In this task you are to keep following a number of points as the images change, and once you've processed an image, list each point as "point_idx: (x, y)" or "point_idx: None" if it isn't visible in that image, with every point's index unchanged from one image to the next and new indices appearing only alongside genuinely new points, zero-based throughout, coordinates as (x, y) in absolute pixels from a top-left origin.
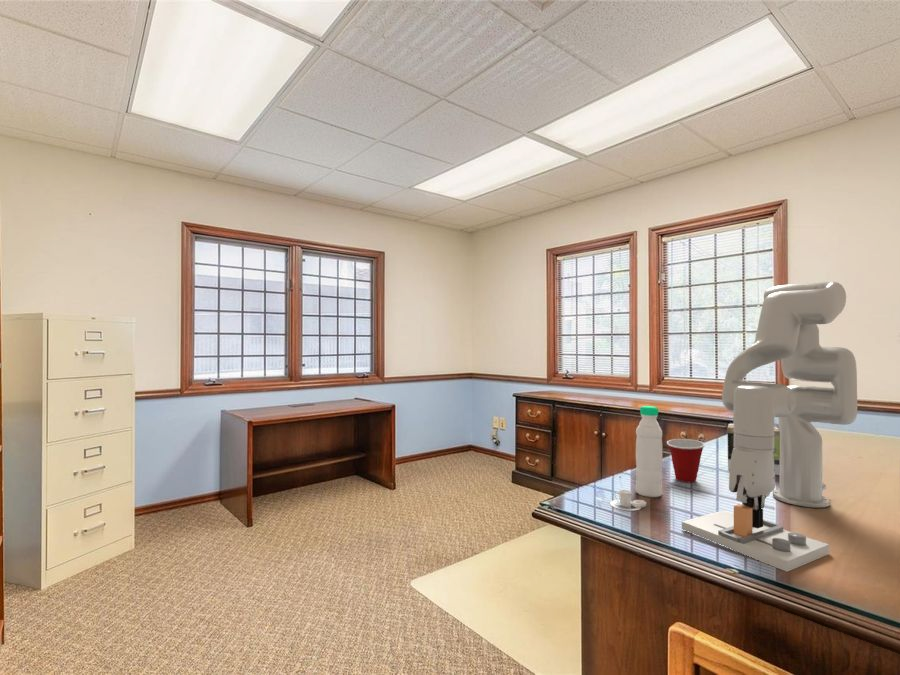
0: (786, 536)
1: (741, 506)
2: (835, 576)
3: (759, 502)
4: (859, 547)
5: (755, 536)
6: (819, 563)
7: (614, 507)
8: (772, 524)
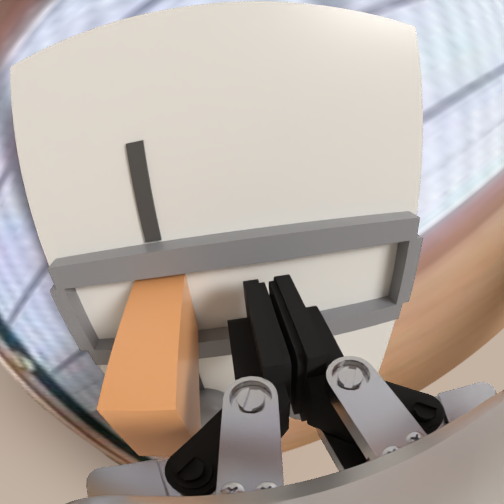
0: None
1: (144, 434)
2: None
3: (327, 443)
4: (444, 352)
5: None
6: None
7: None
8: (399, 286)
